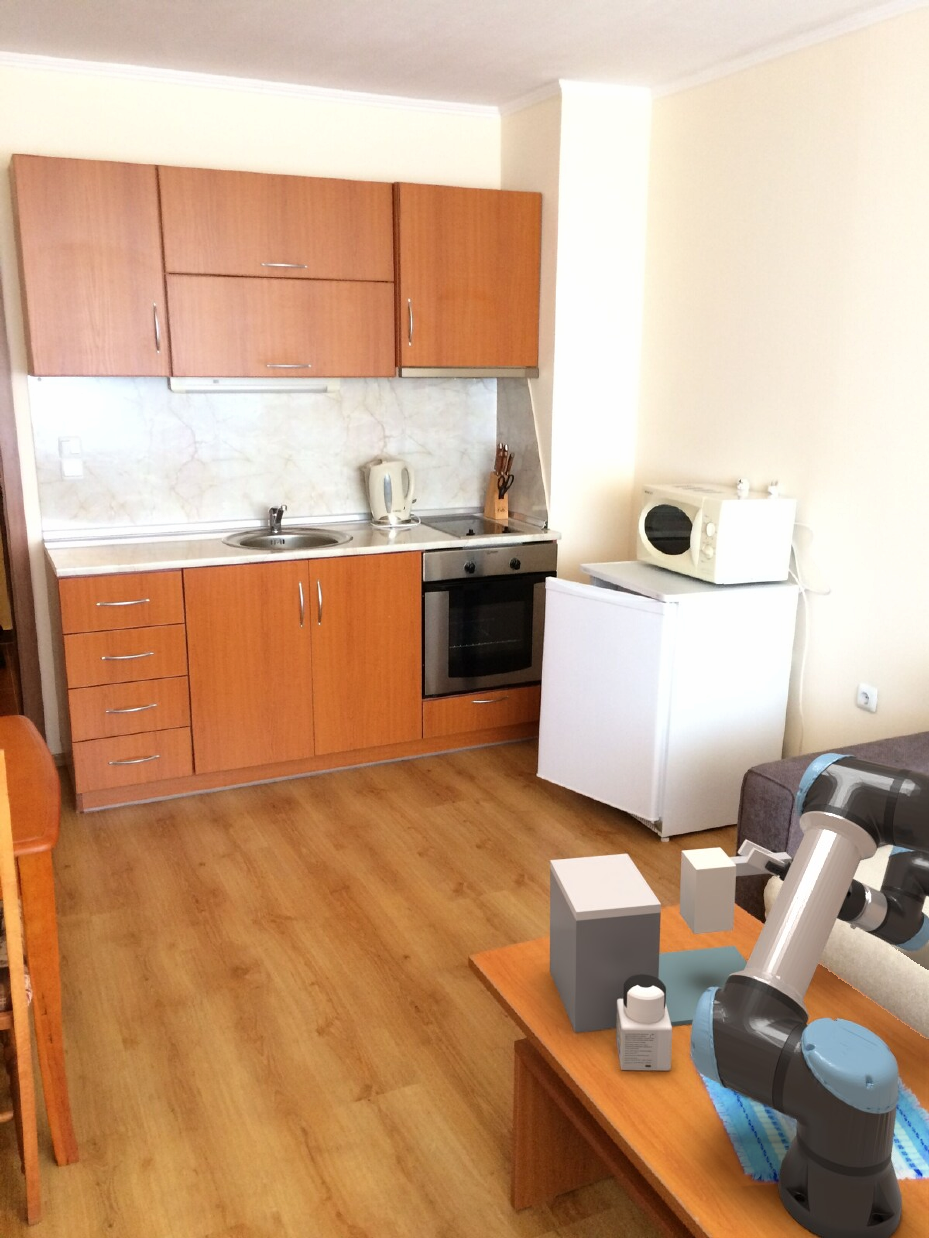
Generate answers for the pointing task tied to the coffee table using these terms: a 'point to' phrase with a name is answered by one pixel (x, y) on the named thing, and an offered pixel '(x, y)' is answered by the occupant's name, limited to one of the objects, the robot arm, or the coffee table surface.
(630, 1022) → the container
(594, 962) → the stand
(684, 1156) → the coffee table surface
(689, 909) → the tall white block
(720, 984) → the mat
